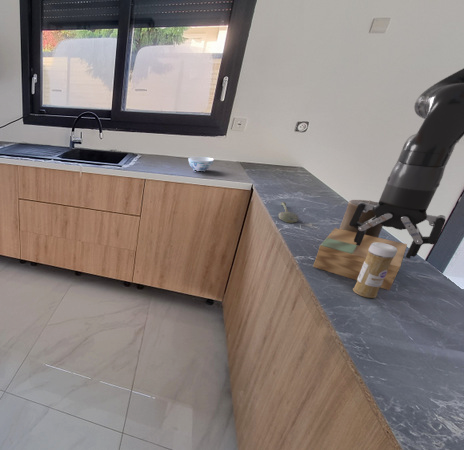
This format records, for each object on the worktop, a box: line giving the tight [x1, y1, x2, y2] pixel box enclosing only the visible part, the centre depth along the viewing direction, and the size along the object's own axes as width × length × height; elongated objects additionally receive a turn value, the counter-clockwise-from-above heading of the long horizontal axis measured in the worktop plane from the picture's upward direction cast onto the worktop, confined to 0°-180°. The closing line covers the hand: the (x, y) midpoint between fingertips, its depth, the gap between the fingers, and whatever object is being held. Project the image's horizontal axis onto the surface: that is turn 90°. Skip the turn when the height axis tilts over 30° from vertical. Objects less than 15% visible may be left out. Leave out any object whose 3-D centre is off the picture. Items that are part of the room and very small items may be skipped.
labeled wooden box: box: [312, 227, 408, 291], centre depth 88 cm, size 16×18×7 cm
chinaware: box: [187, 156, 215, 172], centre depth 198 cm, size 15×15×8 cm
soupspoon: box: [278, 201, 299, 224], centre depth 128 cm, size 22×3×7 cm
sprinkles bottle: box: [352, 242, 397, 299], centre depth 75 cm, size 5×5×14 cm
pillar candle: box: [338, 199, 384, 238], centre depth 100 cm, size 10×10×15 cm
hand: (381, 250), depth 73 cm, fingers open, 8 cm apart
